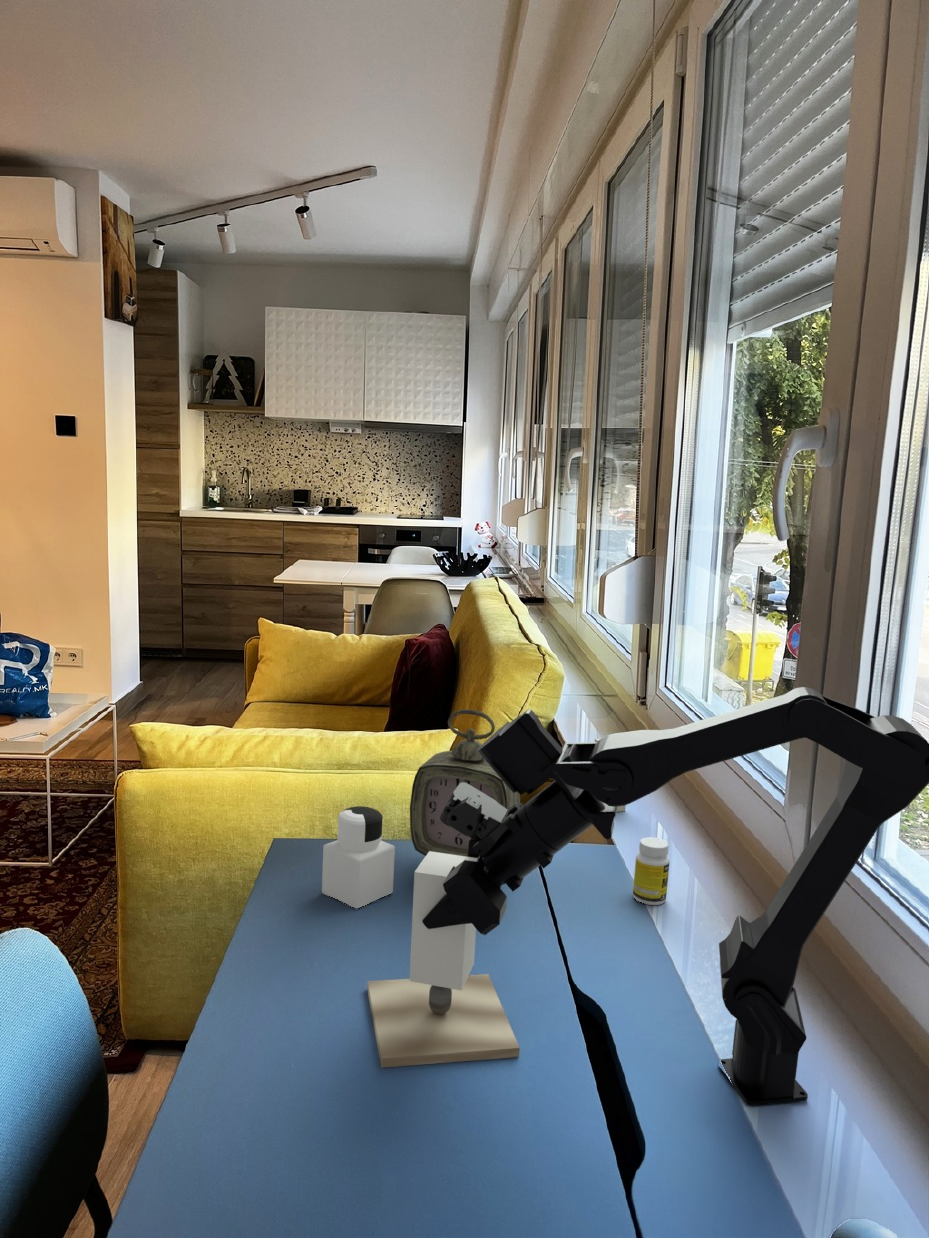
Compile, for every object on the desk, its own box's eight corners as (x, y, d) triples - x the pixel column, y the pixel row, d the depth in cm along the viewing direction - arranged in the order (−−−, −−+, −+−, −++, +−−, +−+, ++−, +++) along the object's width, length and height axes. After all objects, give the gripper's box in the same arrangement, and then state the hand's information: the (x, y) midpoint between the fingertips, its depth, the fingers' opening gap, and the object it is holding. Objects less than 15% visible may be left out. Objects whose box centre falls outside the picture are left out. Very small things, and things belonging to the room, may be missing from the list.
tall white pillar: (473, 963, 100) (479, 858, 98) (461, 990, 94) (467, 879, 92) (424, 954, 101) (429, 851, 99) (409, 980, 95) (414, 871, 94)
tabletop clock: (406, 877, 133) (414, 710, 129) (427, 854, 142) (435, 696, 138) (502, 896, 129) (514, 723, 125) (518, 871, 137) (529, 708, 134)
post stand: (519, 1056, 93) (521, 1015, 92) (381, 1067, 90) (383, 1025, 89) (487, 981, 107) (490, 945, 106) (367, 989, 104) (368, 952, 103)
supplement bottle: (666, 908, 128) (671, 851, 127) (631, 903, 129) (636, 846, 128) (665, 893, 133) (671, 838, 131) (632, 888, 134) (637, 833, 132)
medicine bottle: (357, 878, 132) (361, 798, 130) (393, 894, 128) (397, 811, 126) (320, 893, 127) (323, 810, 125) (356, 911, 122) (360, 824, 120)
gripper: (508, 740, 102) (409, 822, 106) (470, 794, 84) (352, 889, 88) (574, 817, 102) (471, 896, 106) (550, 888, 84) (427, 980, 88)
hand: (432, 911), depth 97 cm, fingers closed on tall white pillar, 6 cm apart
